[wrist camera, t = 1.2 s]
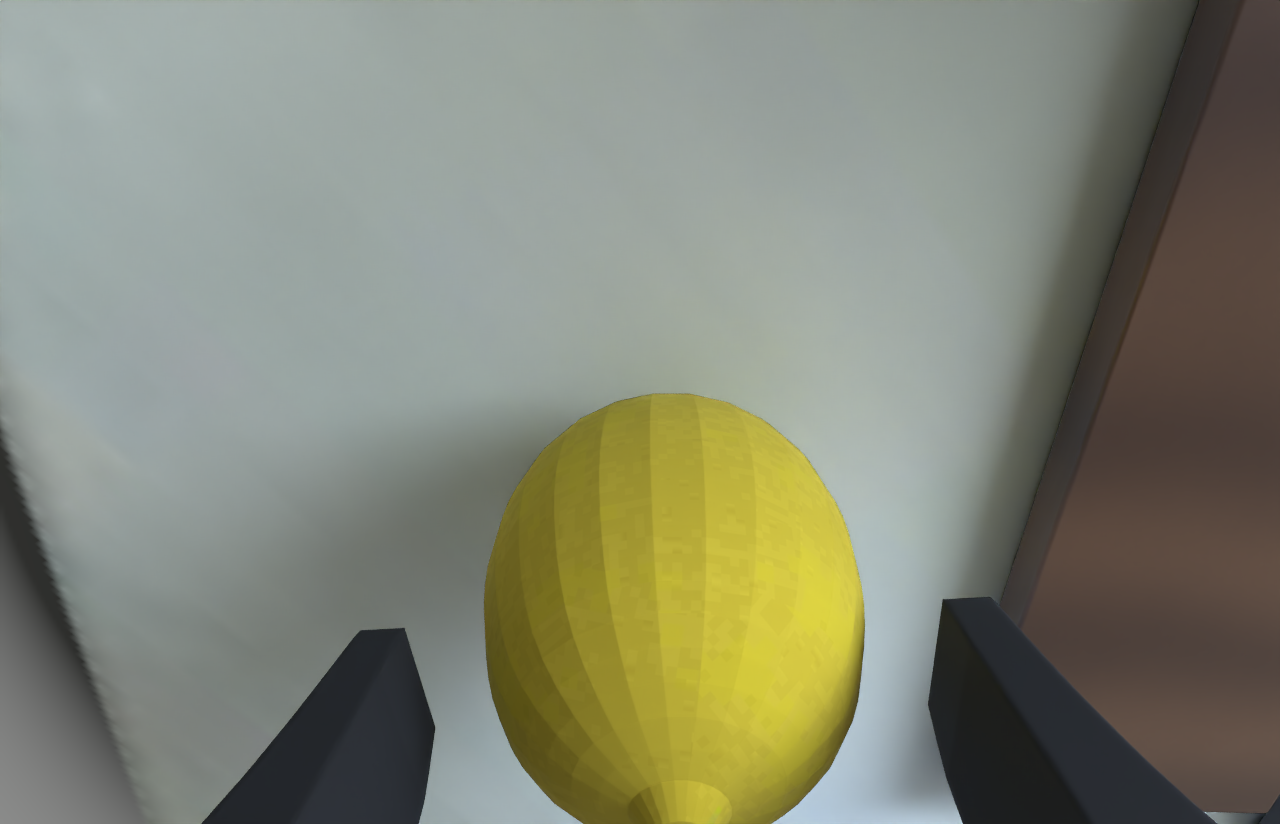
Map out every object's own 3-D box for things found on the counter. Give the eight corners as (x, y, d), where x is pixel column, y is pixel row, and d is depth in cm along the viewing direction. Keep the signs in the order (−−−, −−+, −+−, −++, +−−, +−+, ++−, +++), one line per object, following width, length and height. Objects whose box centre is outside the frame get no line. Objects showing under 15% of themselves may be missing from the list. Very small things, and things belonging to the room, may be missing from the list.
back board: (1244, 778, 22) (1268, 815, 21) (943, 771, 22) (955, 808, 21) (1854, -209, 11) (1955, -216, 10) (1271, -228, 11) (1323, -236, 10)
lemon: (462, 395, 16) (325, 783, 9) (736, 258, 14) (817, 598, 8) (612, 592, 18) (592, 1010, 12) (857, 493, 17) (998, 902, 10)
